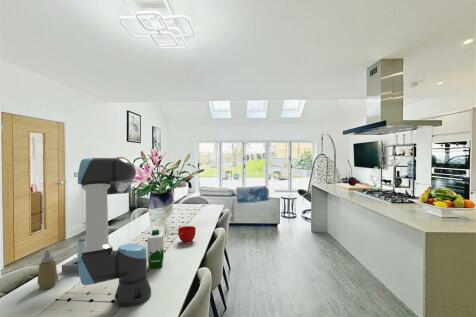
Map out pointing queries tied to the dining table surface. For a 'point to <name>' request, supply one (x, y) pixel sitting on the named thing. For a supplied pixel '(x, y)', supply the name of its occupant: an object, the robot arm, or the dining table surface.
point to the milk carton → (155, 249)
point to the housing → (71, 266)
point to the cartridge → (80, 247)
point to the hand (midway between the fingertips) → (97, 240)
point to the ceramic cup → (186, 233)
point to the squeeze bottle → (47, 272)
